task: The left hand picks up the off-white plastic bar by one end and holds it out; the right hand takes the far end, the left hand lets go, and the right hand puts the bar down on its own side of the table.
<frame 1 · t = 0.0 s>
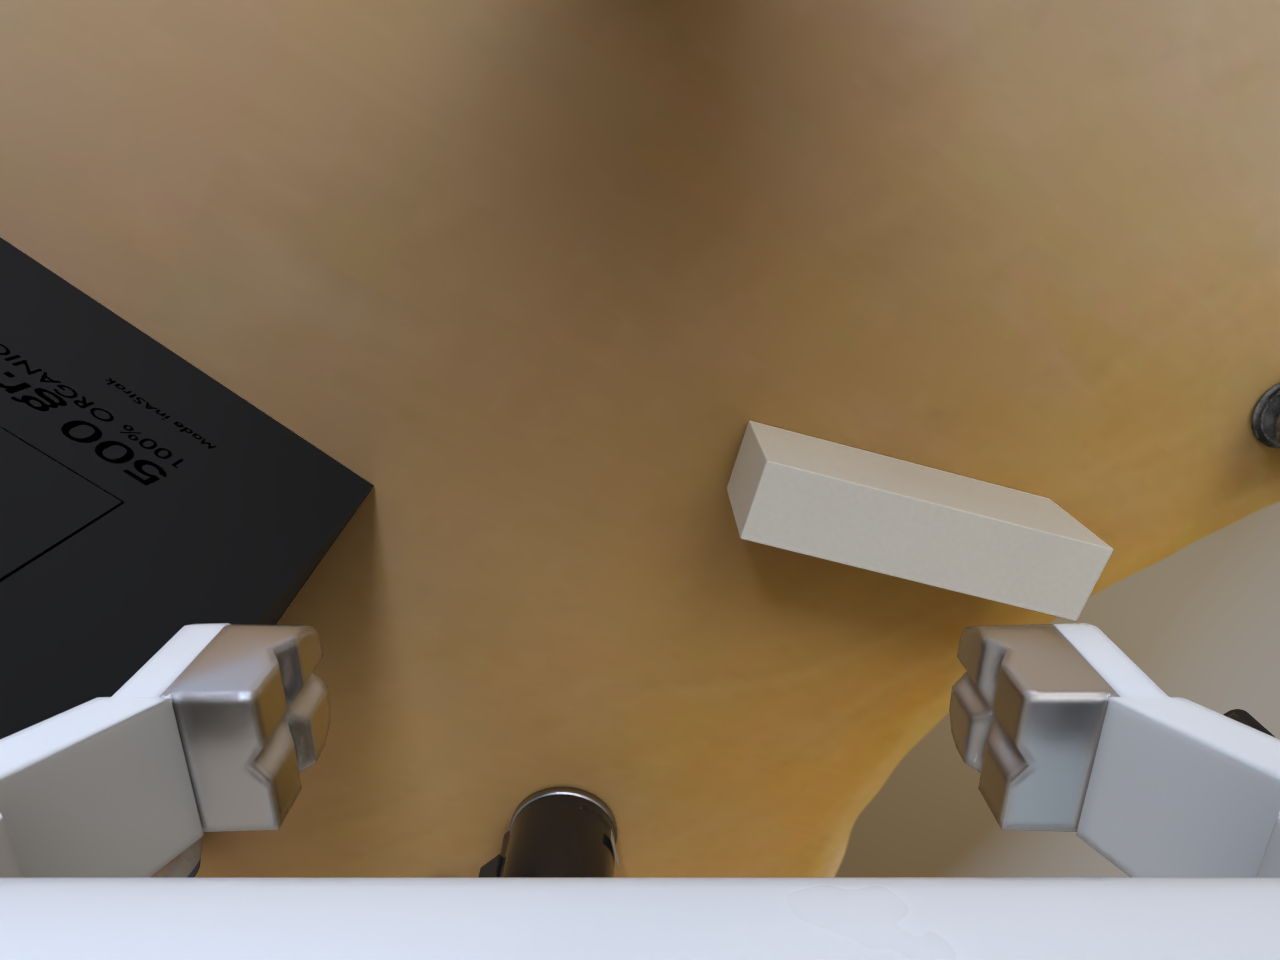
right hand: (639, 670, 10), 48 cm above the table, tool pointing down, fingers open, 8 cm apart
cardboard box: (82, 439, 60), on the table
bar: (888, 493, 61), on the table
eyeball: (183, 827, 72), on the table
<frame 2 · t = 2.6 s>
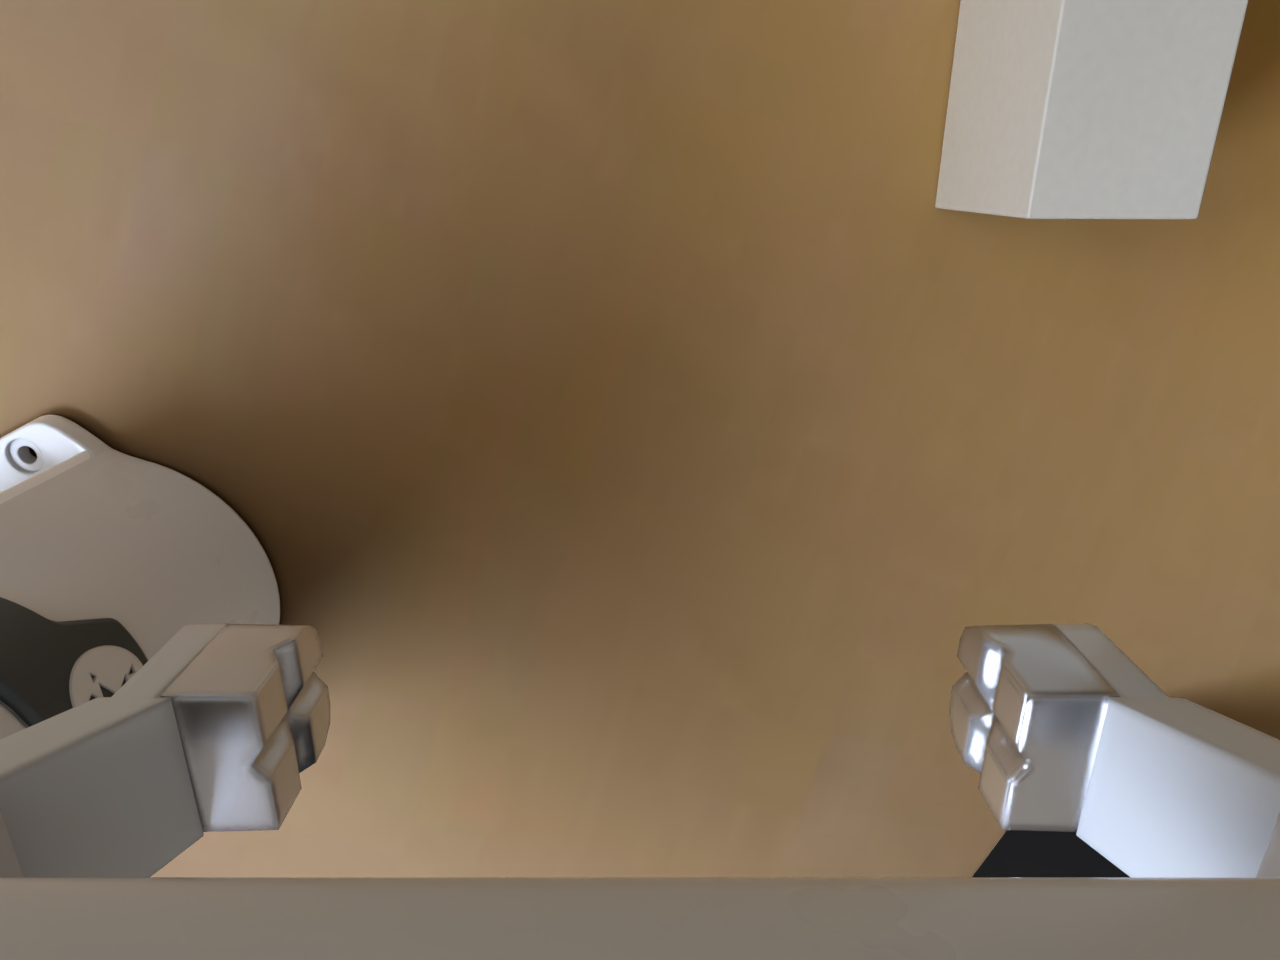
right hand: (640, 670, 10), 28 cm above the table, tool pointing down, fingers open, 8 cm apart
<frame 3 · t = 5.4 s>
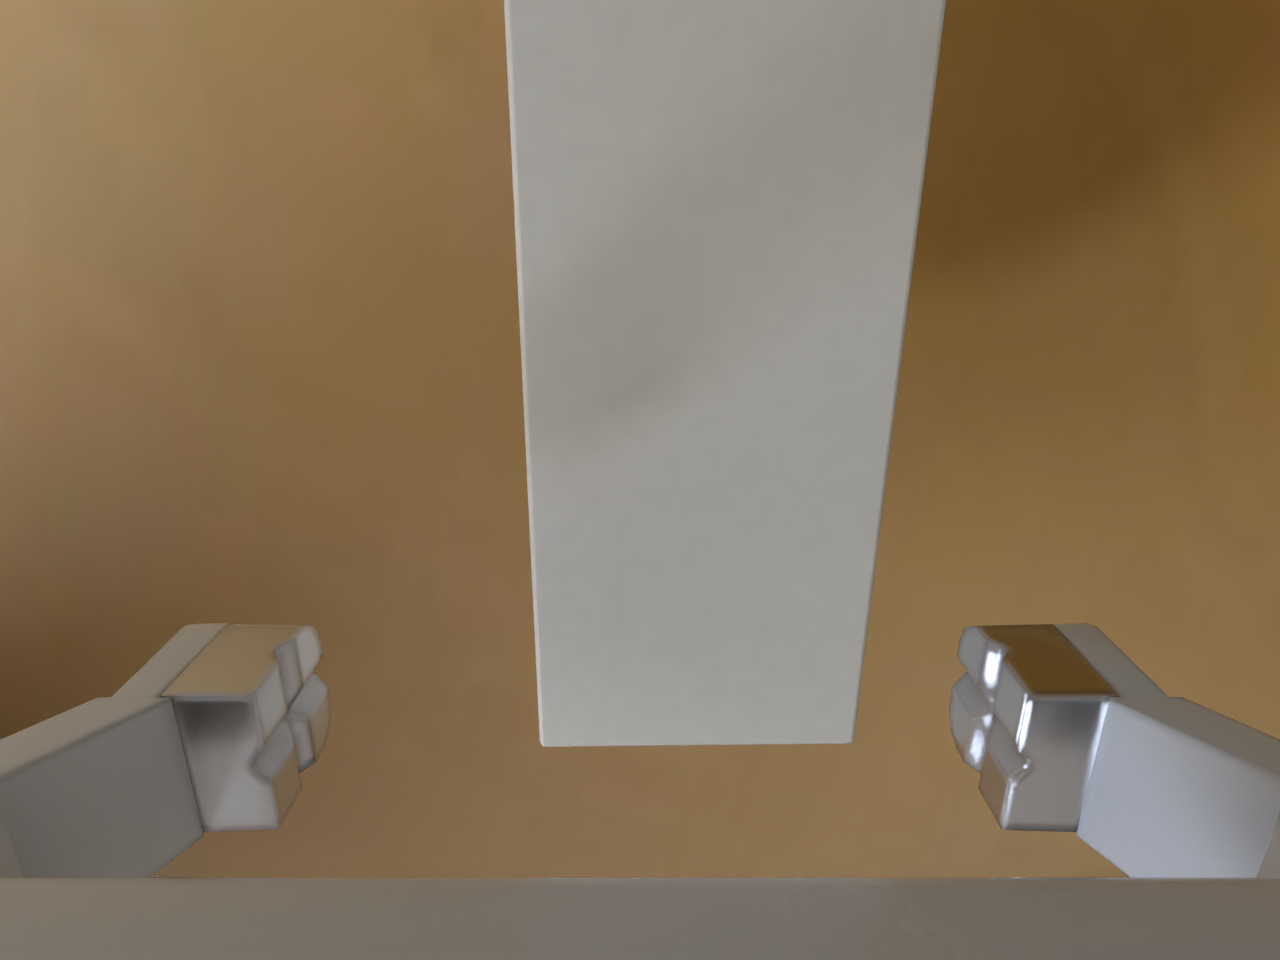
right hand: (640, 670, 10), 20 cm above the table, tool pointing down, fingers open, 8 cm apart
bar: (679, 55, 18), point 8 cm above the table, touching left hand
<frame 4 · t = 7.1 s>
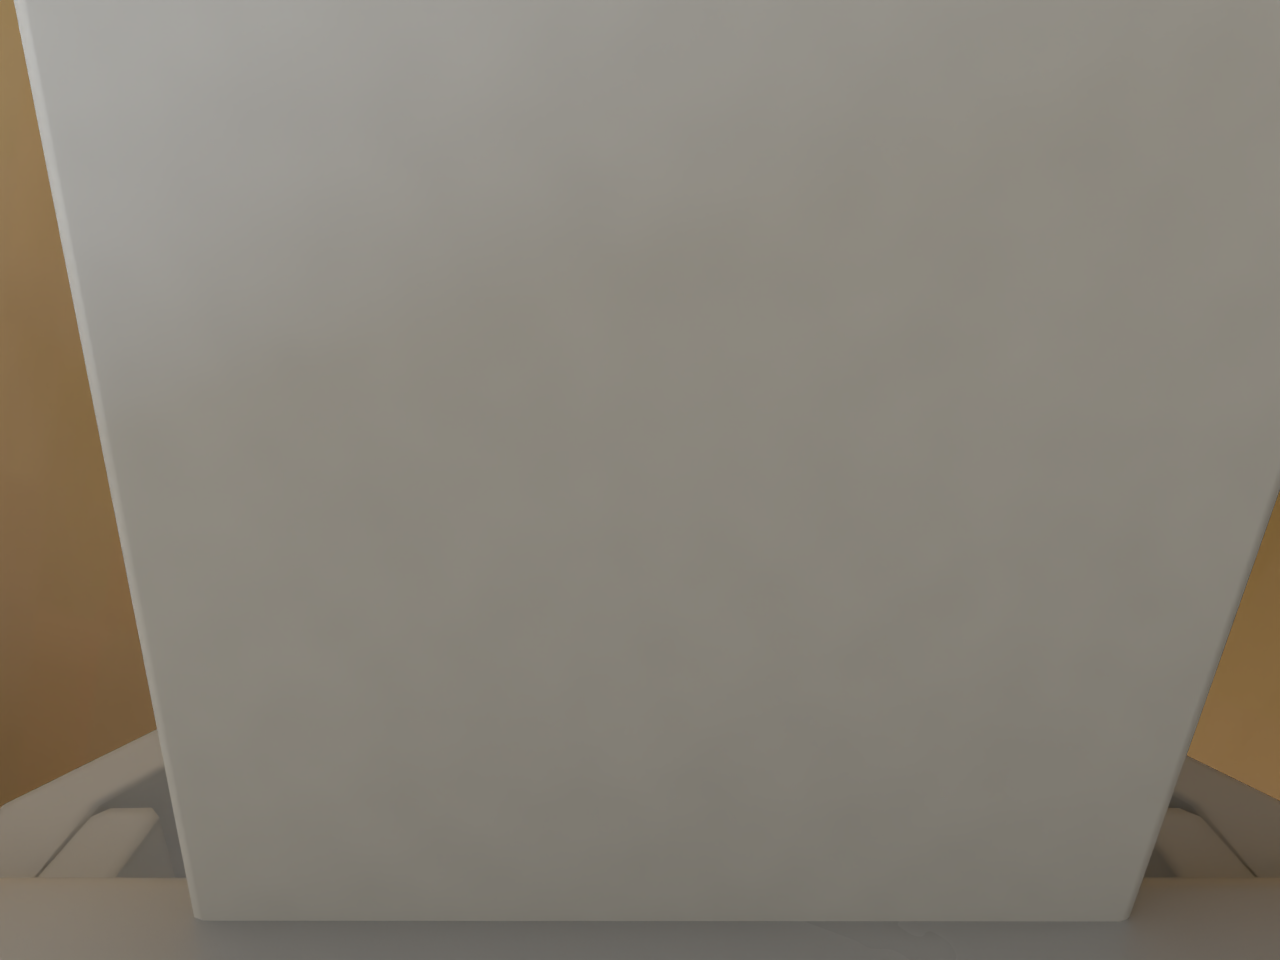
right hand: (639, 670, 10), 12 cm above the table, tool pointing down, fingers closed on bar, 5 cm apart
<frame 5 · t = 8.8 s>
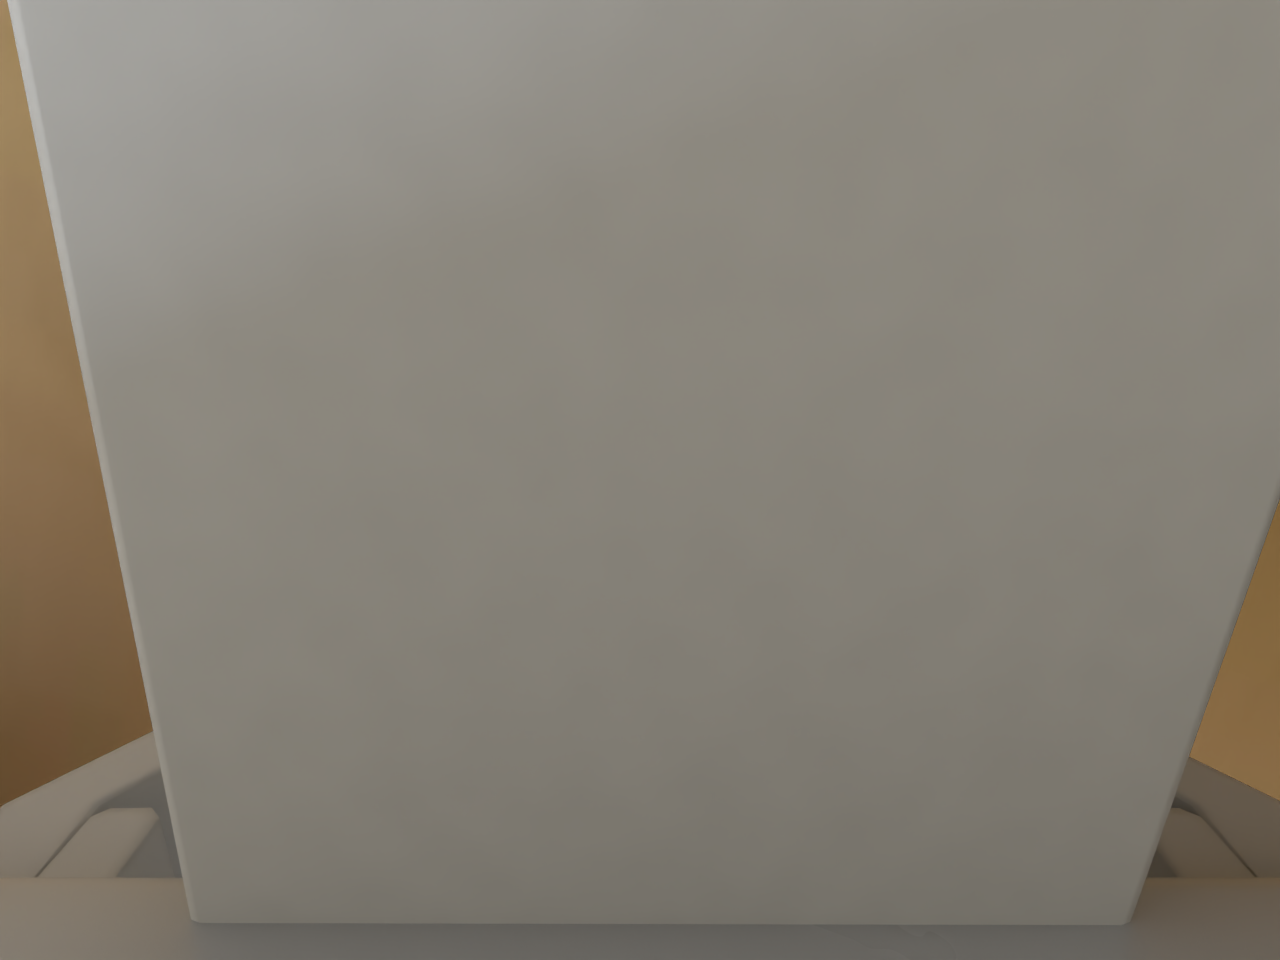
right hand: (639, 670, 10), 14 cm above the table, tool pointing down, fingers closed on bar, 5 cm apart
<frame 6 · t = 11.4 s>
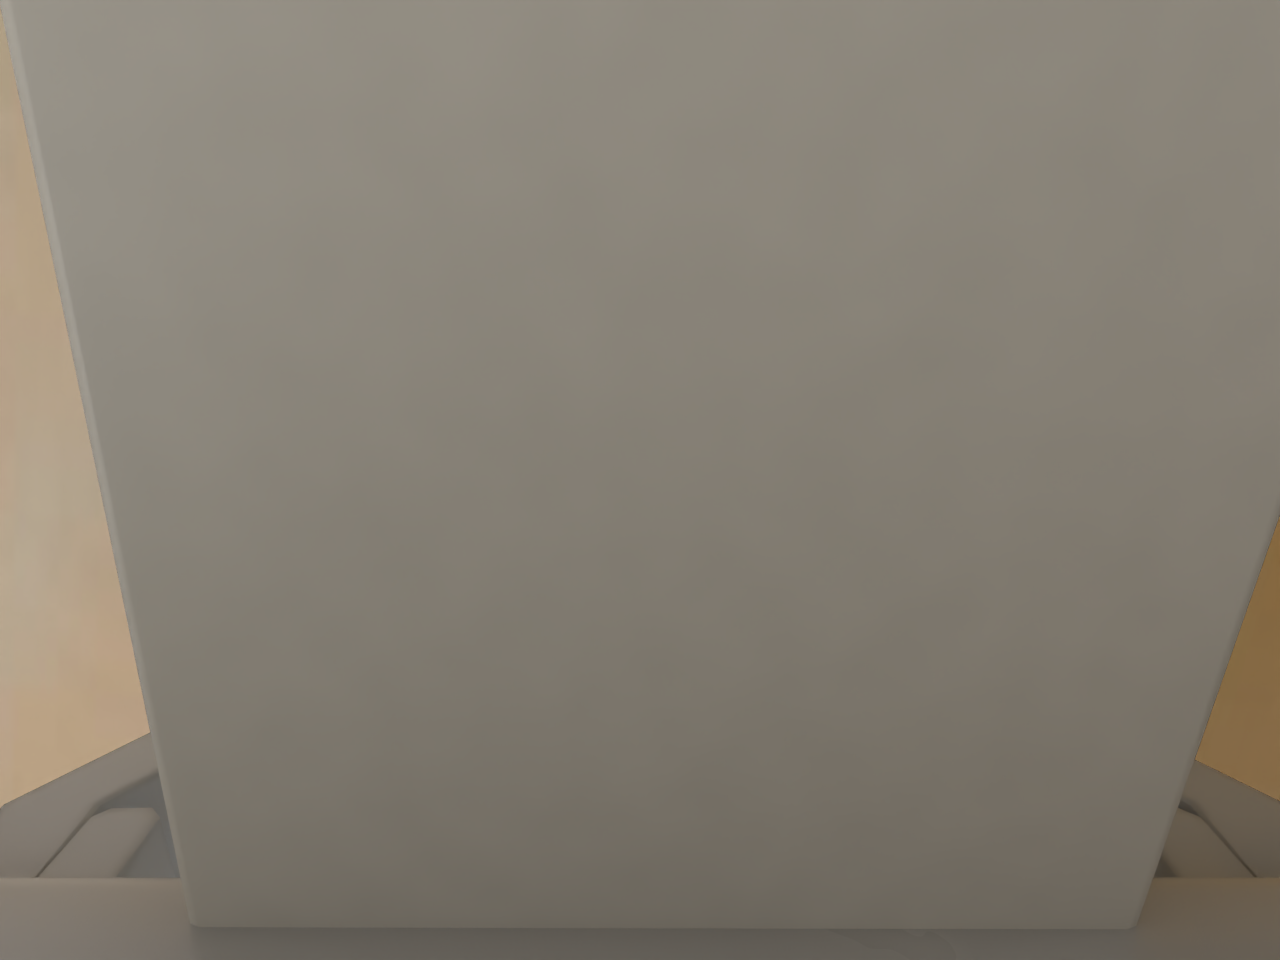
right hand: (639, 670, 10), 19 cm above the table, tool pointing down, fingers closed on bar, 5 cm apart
when the right hand's fingers open (5 cm above the table, at t = 16.0 s): bar stays where it is, on the table.
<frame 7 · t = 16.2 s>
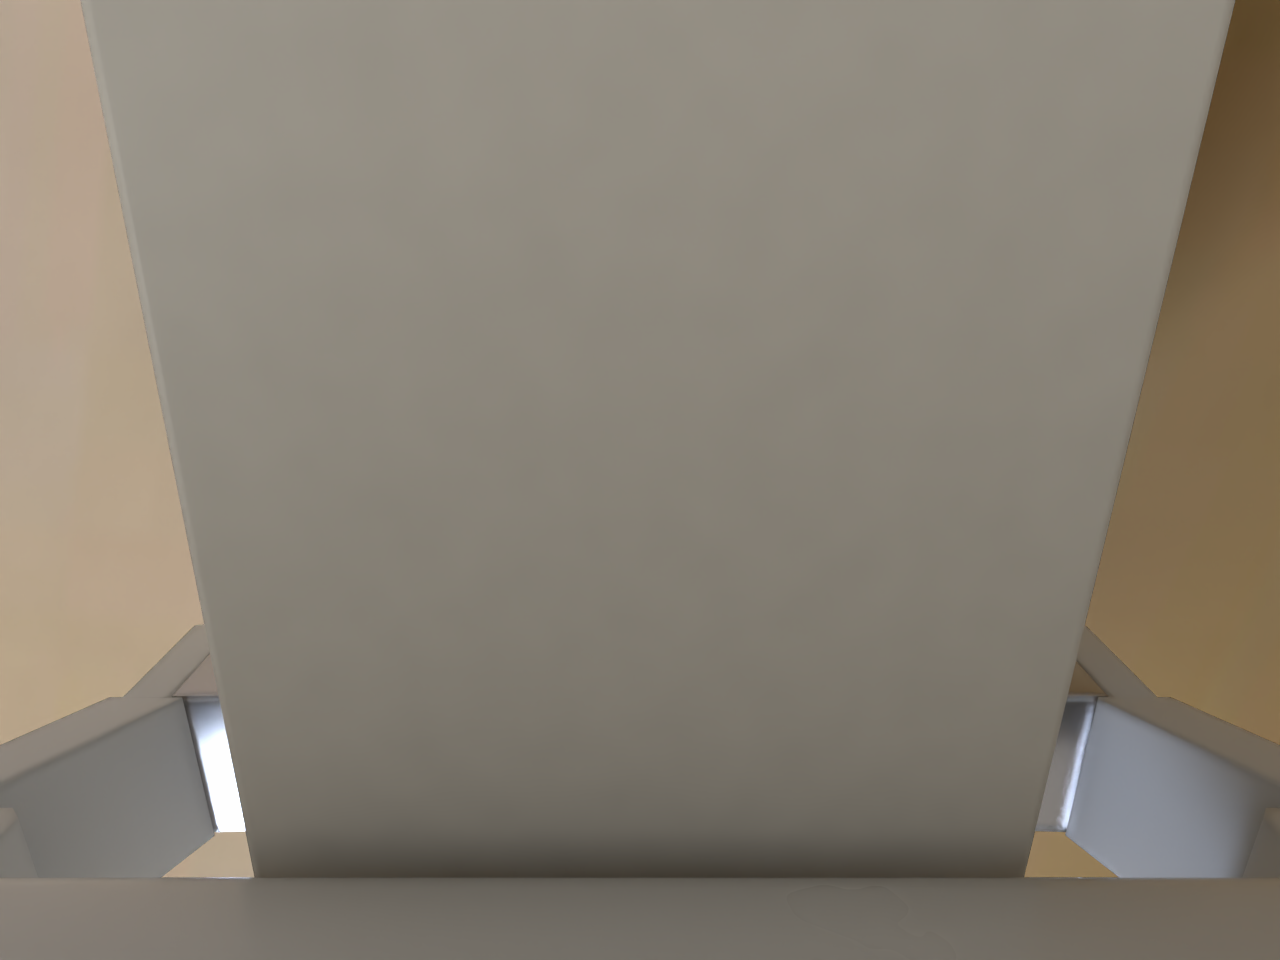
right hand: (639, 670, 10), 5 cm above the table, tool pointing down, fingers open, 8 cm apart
bar: (647, 29, 12), on the table
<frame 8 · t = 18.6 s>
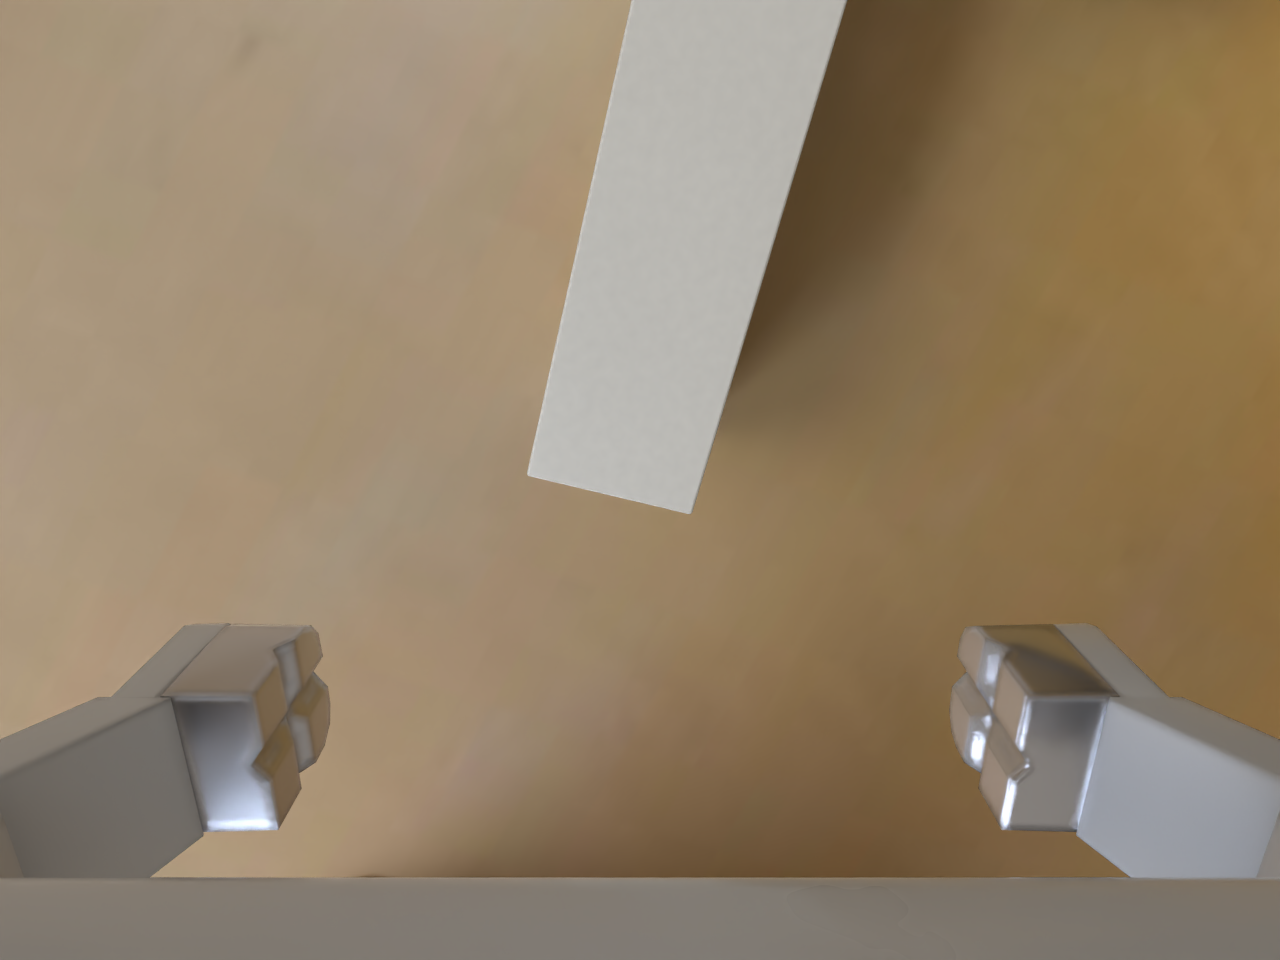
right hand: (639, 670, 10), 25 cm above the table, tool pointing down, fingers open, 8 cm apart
bar: (691, 129, 31), on the table
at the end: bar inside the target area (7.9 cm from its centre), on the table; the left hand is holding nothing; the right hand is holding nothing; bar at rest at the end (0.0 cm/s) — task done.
